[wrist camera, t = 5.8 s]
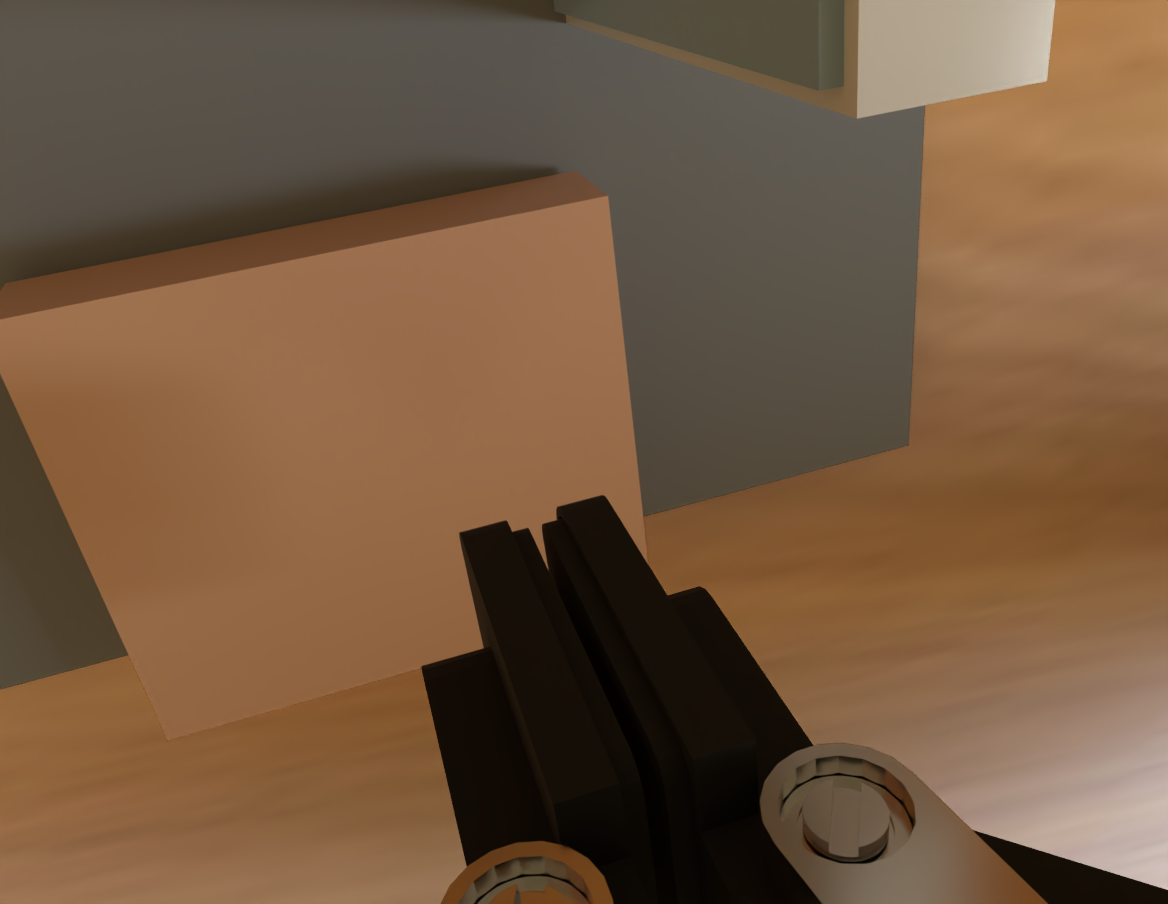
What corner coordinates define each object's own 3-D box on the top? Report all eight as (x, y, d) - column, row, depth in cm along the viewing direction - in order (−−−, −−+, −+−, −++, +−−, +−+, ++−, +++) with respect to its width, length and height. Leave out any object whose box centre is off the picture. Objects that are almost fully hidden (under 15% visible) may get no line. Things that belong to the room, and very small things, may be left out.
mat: (931, -616, 12) (960, -639, 12) (891, 431, 20) (908, 445, 19) (-828, -535, 9) (-892, -562, 9) (-83, 690, 17) (-93, 714, 16)
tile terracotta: (608, 195, 14) (-23, 324, 12) (652, 601, 17) (167, 741, 15) (572, 168, 15) (8, 278, 14) (620, 545, 19) (175, 667, 17)
